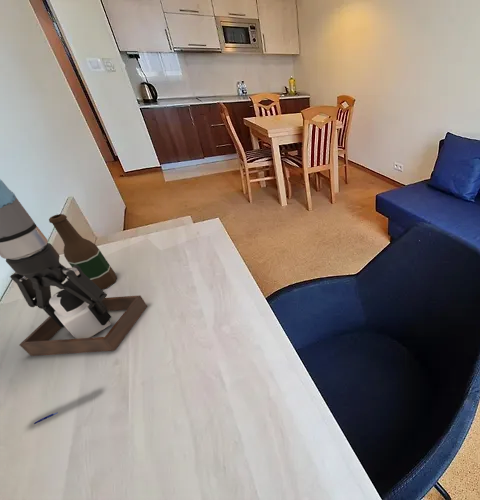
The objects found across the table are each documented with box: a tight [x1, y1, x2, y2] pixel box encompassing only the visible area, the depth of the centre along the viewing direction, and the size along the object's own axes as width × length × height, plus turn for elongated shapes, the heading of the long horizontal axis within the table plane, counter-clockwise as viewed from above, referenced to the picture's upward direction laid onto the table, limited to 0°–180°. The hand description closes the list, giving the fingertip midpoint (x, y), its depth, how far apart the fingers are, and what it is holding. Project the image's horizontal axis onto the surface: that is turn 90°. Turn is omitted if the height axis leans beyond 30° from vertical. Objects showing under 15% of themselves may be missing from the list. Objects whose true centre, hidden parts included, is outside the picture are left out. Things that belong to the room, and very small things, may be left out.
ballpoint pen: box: [33, 412, 57, 425], centre depth 61 cm, size 10×1×1 cm, turn 125°
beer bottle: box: [48, 213, 118, 290], centre depth 88 cm, size 8×8×24 cm
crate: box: [19, 294, 148, 357], centre depth 77 cm, size 21×15×5 cm
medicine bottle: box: [49, 289, 112, 339], centre depth 74 cm, size 7×7×12 cm
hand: (86, 322), depth 77 cm, fingers closed on medicine bottle, 10 cm apart
